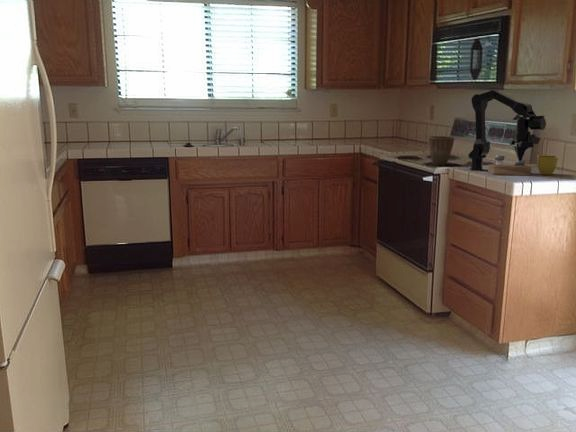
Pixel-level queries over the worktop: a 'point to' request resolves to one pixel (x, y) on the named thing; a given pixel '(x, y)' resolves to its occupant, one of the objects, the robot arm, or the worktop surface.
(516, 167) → the mount
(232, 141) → the worktop surface
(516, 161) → the knob
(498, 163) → the knob
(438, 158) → the plant pot
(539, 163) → the flower pot
